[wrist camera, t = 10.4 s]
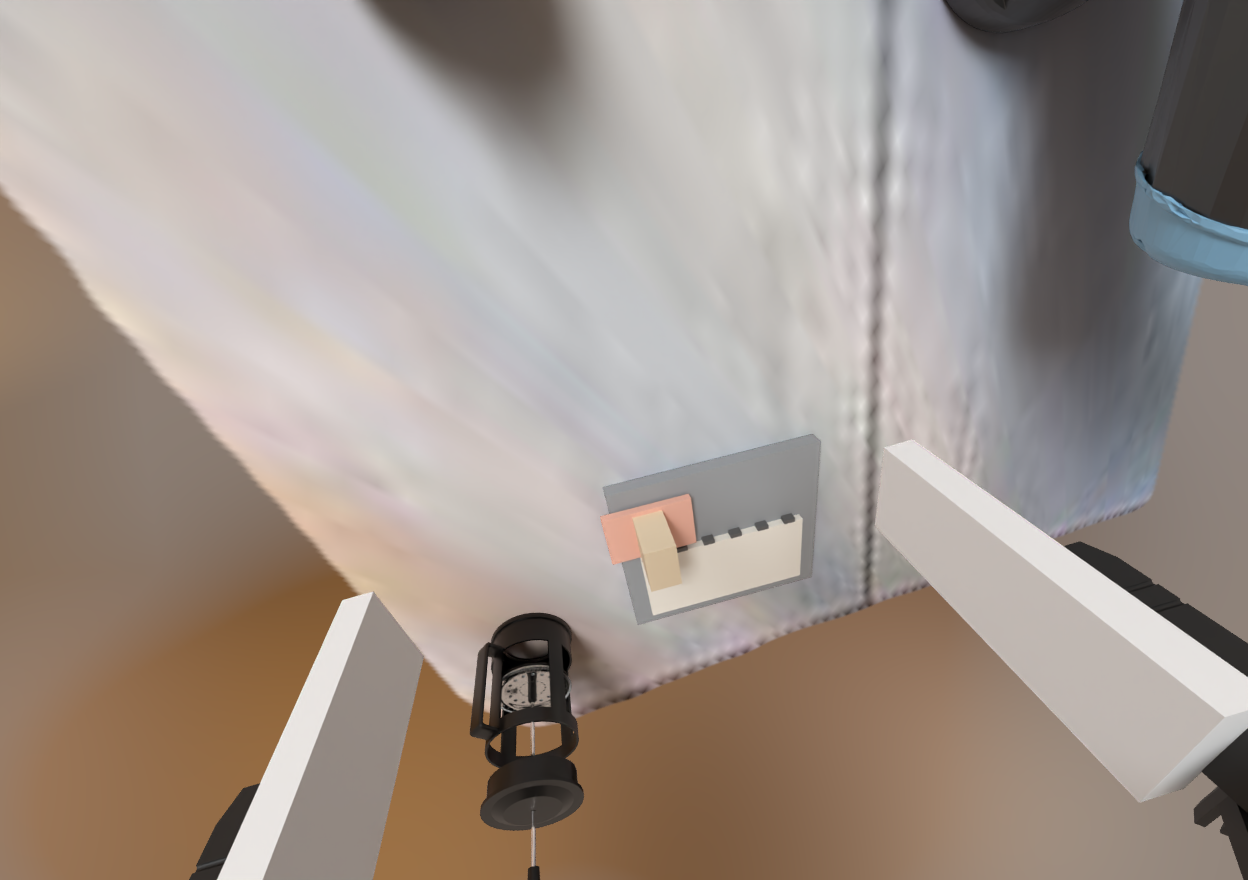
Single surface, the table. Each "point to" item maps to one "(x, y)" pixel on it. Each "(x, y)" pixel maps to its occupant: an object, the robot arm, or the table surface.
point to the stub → (652, 537)
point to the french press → (527, 695)
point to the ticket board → (731, 525)
